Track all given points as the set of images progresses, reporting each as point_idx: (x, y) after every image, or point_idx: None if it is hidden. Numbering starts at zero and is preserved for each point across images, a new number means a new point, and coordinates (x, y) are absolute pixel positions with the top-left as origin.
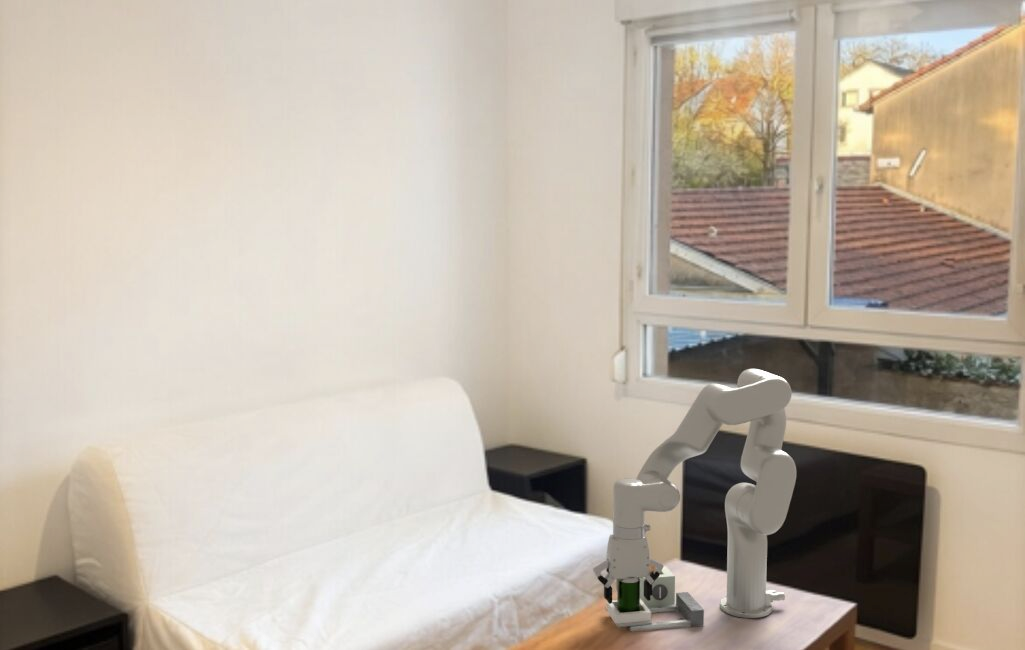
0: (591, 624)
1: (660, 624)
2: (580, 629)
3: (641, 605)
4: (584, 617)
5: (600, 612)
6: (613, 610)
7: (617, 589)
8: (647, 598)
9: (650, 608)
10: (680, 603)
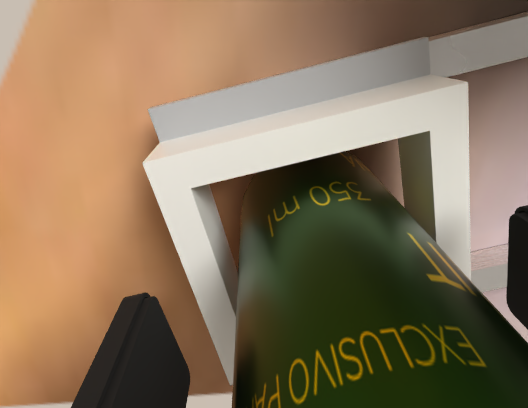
0: (89, 242)
1: (484, 289)
2: (40, 300)
3: (435, 234)
4: (23, 148)
5: (120, 57)
6: (209, 329)
7: (233, 388)
8: (519, 320)
9: (503, 61)
10: None
